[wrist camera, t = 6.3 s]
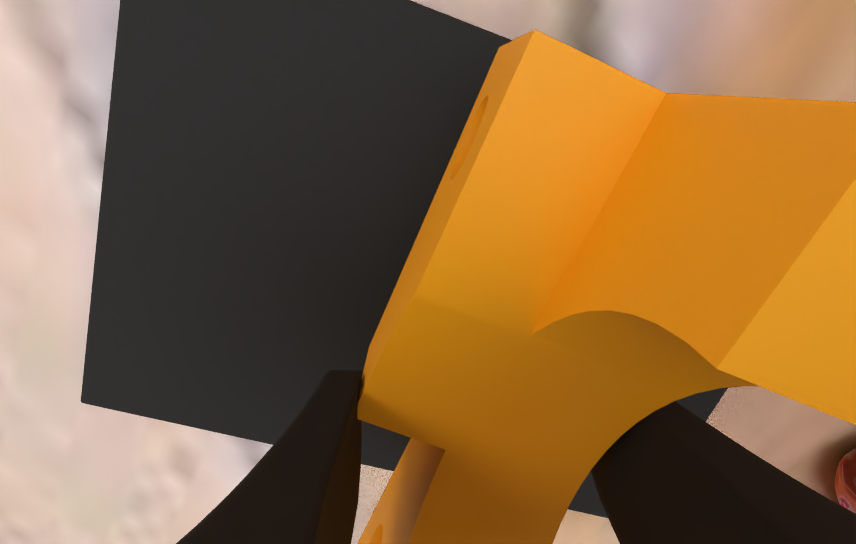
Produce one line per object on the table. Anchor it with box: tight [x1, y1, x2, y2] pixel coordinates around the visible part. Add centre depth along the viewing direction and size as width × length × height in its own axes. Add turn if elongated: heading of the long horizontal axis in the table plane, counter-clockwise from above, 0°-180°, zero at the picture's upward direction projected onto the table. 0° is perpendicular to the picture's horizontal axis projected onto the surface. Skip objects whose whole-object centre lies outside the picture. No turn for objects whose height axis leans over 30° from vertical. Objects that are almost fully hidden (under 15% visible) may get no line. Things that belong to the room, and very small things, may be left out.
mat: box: [81, 0, 728, 518], centre depth 15 cm, size 20×14×1 cm
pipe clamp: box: [357, 30, 856, 544], centre depth 8 cm, size 12×4×6 cm, turn 157°
